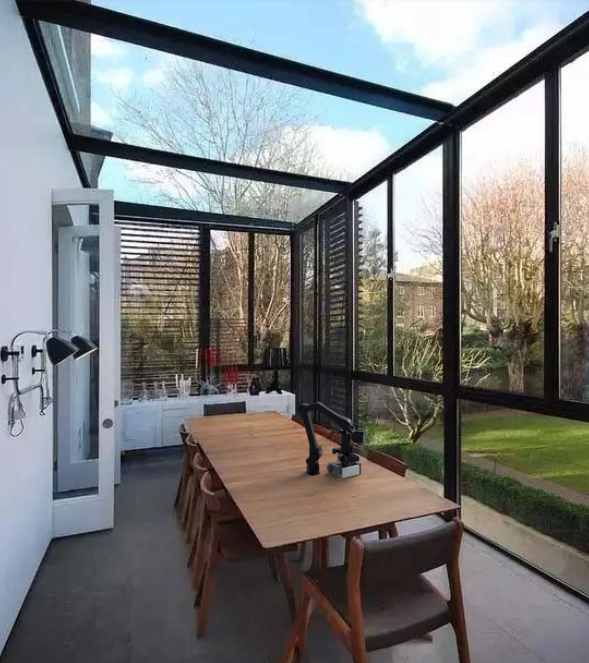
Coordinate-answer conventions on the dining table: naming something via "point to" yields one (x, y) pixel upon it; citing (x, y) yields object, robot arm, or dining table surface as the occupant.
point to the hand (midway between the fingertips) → (345, 470)
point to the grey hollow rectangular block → (340, 468)
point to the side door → (350, 471)
